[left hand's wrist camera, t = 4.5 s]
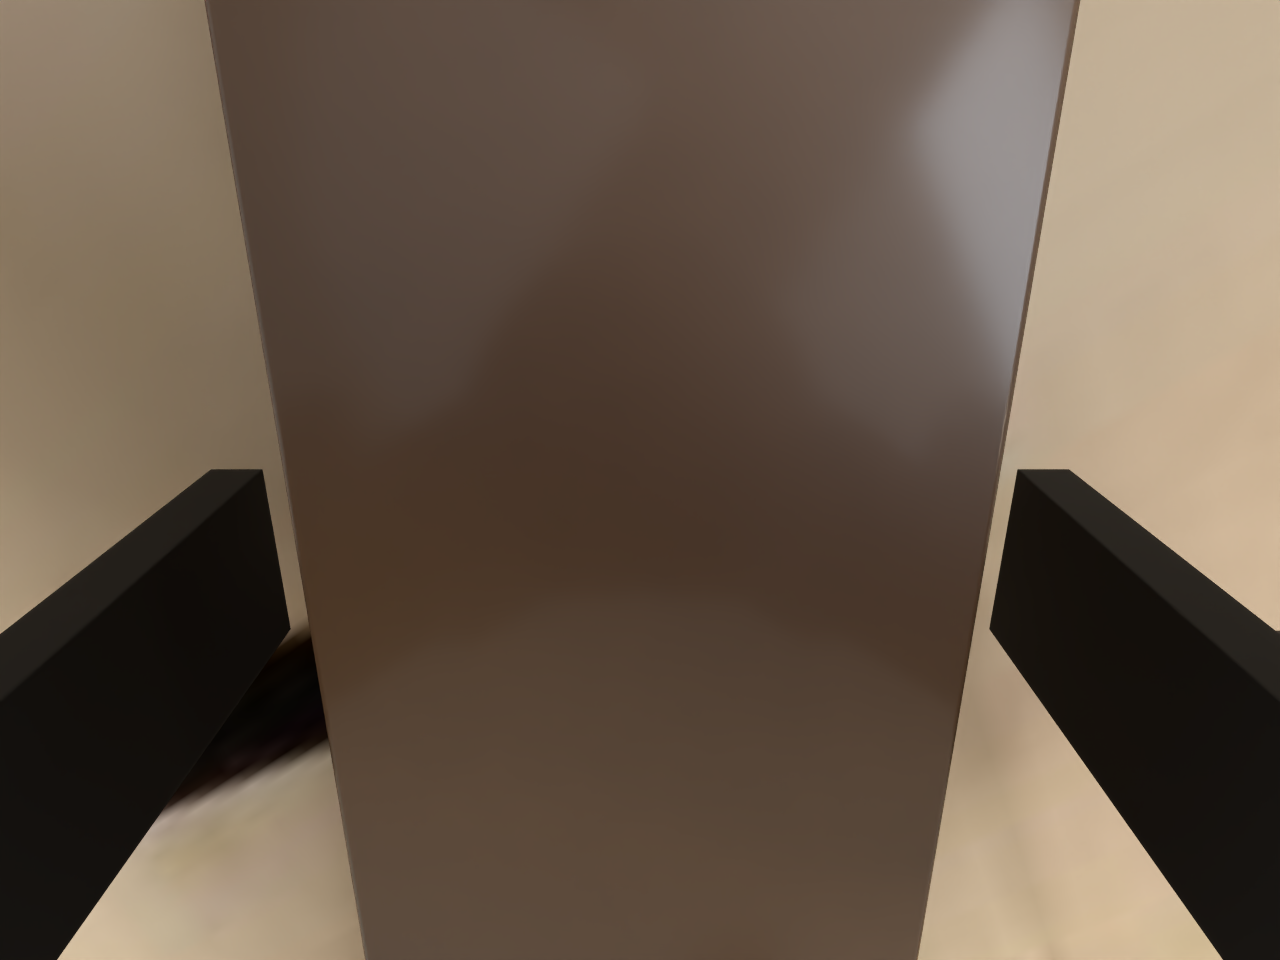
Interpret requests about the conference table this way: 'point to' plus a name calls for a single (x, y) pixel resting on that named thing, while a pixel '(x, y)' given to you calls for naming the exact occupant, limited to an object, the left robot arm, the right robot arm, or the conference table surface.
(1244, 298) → the conference table surface
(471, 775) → the bar
